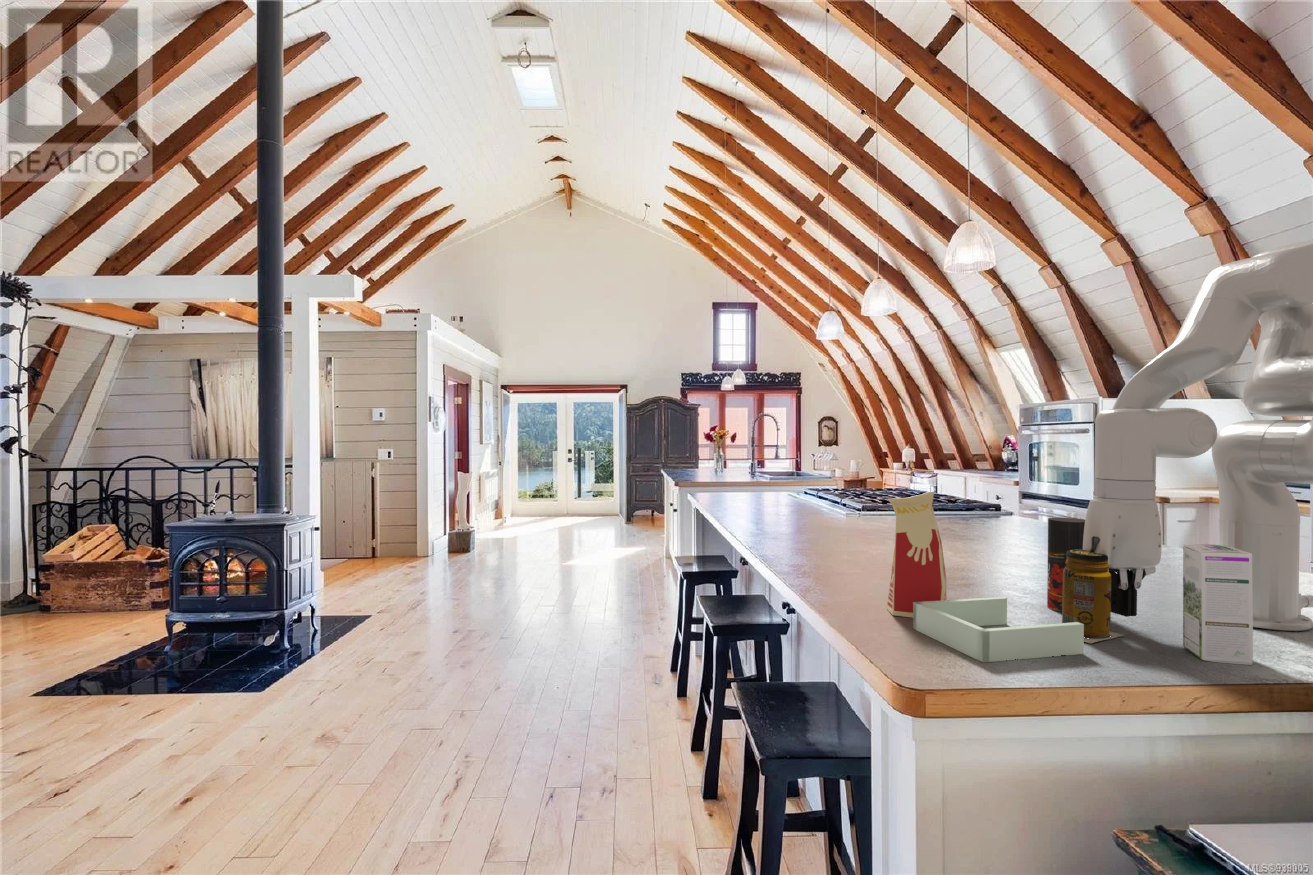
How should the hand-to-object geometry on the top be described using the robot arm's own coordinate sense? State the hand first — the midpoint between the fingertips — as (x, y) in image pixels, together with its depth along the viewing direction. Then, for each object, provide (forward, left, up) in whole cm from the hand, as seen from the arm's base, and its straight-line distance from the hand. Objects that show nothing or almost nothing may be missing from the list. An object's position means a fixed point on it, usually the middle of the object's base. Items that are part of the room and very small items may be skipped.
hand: (1122, 613), depth 100 cm
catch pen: (+22, 0, -3) cm, 23 cm away
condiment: (+7, 0, -3) cm, 8 cm away
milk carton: (+24, -16, -3) cm, 29 cm away
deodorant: (-2, -12, -3) cm, 12 cm away
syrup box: (-2, +12, -3) cm, 12 cm away
